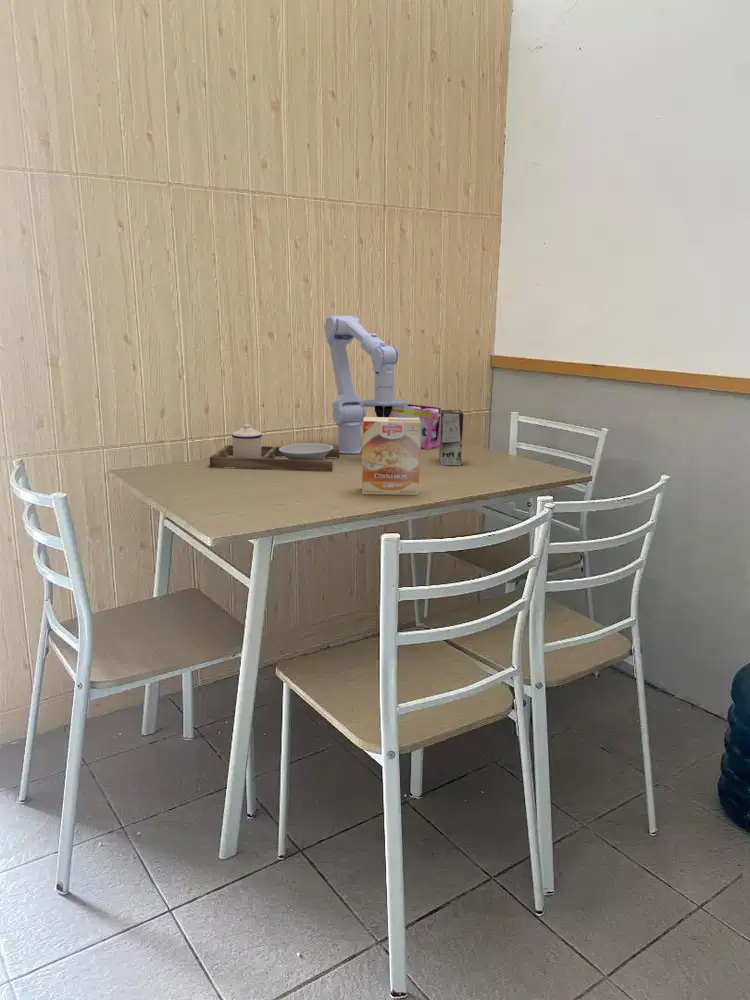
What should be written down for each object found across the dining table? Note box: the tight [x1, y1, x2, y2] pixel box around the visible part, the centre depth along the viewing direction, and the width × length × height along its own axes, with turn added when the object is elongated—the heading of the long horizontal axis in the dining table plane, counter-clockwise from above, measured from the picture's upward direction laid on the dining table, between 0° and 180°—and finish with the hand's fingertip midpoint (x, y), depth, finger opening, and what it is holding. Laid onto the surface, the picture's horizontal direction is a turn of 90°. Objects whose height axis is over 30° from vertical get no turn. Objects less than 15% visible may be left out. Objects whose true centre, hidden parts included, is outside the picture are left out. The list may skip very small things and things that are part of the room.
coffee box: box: [438, 409, 464, 466], centre depth 233 cm, size 9×6×16 cm
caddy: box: [209, 444, 341, 472], centre depth 230 cm, size 19×36×3 cm, turn 86°
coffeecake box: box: [361, 416, 421, 496], centre depth 196 cm, size 15×7×20 cm, turn 91°
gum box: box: [375, 403, 442, 450], centre depth 262 cm, size 24×8×14 cm, turn 53°
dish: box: [279, 442, 334, 460], centre depth 229 cm, size 18×14×5 cm
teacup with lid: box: [231, 423, 263, 458], centre depth 230 cm, size 12×9×12 cm
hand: (383, 430), depth 231 cm, fingers closed
